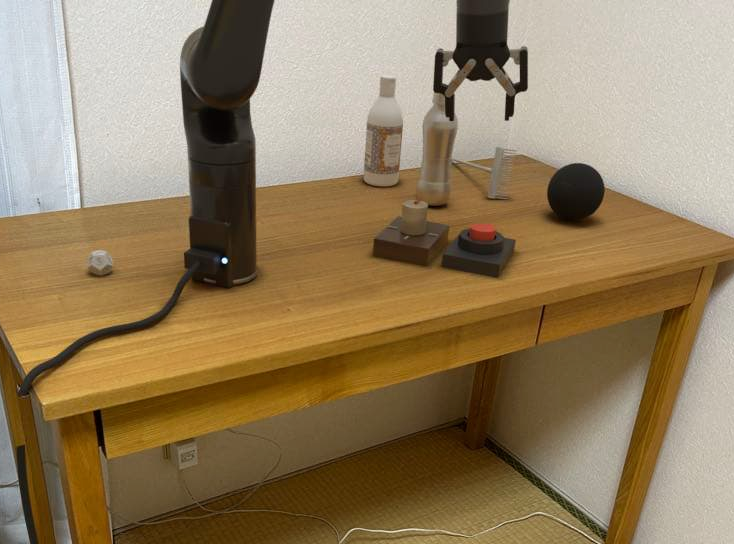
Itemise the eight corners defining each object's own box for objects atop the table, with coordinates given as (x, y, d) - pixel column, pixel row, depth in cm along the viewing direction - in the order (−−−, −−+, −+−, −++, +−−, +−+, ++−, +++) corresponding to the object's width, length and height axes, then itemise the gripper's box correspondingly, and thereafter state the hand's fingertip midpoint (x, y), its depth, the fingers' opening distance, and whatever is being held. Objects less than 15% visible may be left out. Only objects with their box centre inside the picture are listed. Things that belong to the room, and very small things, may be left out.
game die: (117, 274, 119) (115, 255, 117) (92, 279, 117) (89, 259, 115) (109, 266, 121) (107, 246, 120) (84, 270, 119) (82, 250, 118)
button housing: (498, 278, 125) (501, 253, 123) (441, 267, 127) (444, 242, 125) (513, 252, 134) (517, 228, 132) (460, 242, 137) (463, 219, 135)
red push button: (491, 244, 127) (492, 233, 126) (466, 239, 128) (467, 229, 127) (496, 236, 130) (498, 225, 129) (472, 231, 131) (473, 221, 130)
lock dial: (421, 237, 129) (424, 207, 127) (397, 232, 131) (399, 203, 128) (428, 229, 133) (431, 200, 130) (404, 225, 134) (407, 196, 131)
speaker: (593, 212, 154) (605, 158, 149) (602, 230, 146) (614, 174, 141) (540, 207, 155) (549, 154, 150) (545, 225, 146) (556, 169, 141)
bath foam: (376, 189, 159) (384, 80, 149) (356, 179, 164) (362, 73, 154) (404, 184, 163) (414, 78, 152) (384, 175, 168) (392, 71, 157)
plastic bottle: (455, 203, 155) (469, 92, 144) (439, 212, 150) (452, 97, 139) (425, 196, 157) (436, 86, 147) (408, 204, 152) (418, 91, 142)
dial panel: (427, 267, 127) (429, 247, 126) (372, 256, 130) (373, 237, 128) (447, 242, 137) (449, 224, 135) (396, 233, 139) (398, 215, 138)
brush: (459, 181, 183) (466, 137, 180) (507, 200, 158) (517, 149, 155) (443, 180, 182) (450, 135, 179) (489, 198, 157) (498, 147, 154)
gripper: (431, 14, 117) (431, 127, 127) (532, 10, 115) (525, 126, 124) (435, 3, 123) (435, 113, 133) (532, -1, 121) (525, 111, 130)
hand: (479, 119), depth 129 cm, fingers open, 8 cm apart
